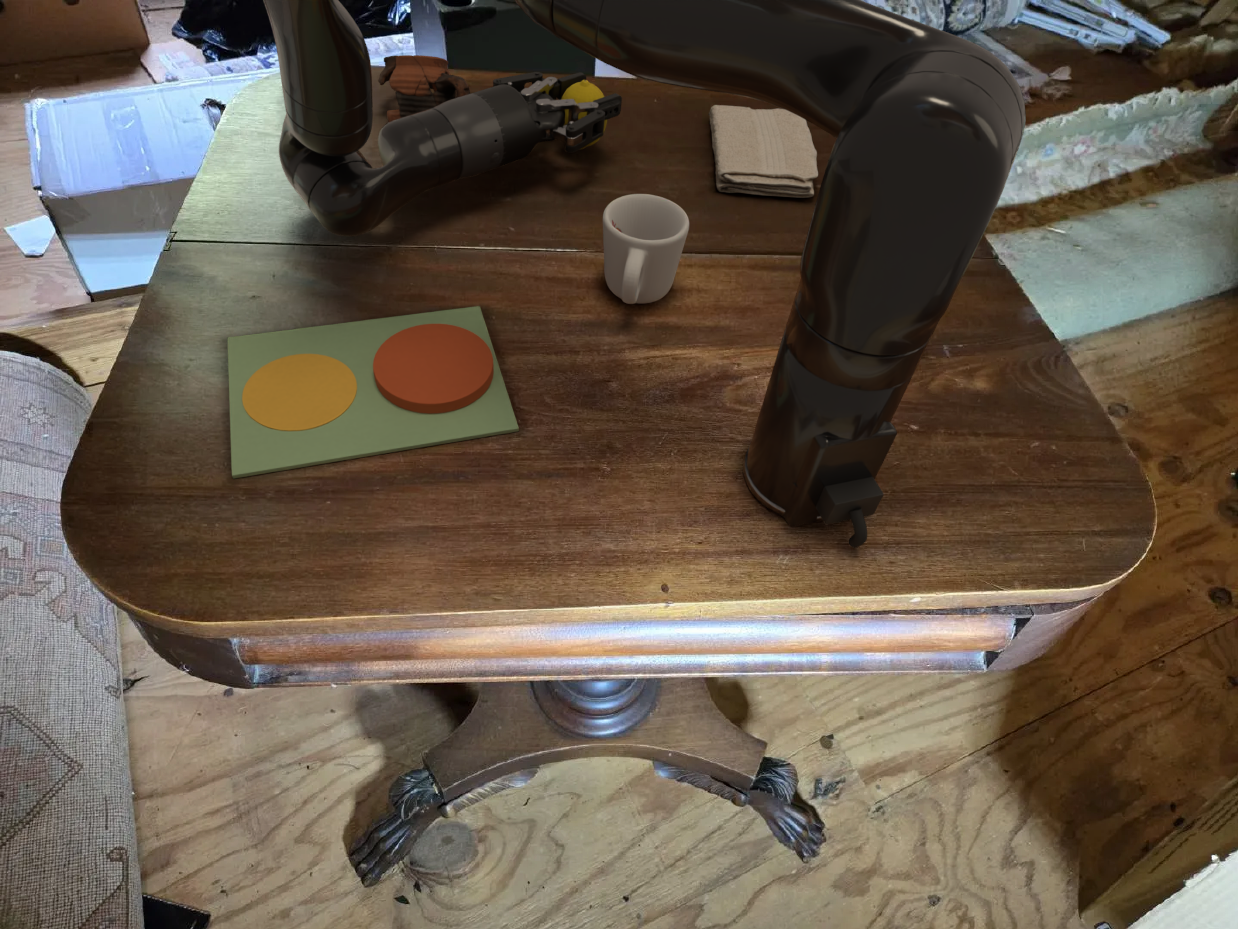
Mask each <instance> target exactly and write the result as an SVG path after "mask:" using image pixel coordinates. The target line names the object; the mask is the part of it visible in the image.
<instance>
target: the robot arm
mask: <svg viewBox="0 0 1238 929" xmlns="http://www.w3.org/2000/svg"><path fill="white" fill-rule="evenodd" d="M262 2H263V4H264V7H265V11H266V14H267V16H268V17H267V18H268V20H269V23H270V24H269V25H270V28H271V30H272V35H273V39H274V43H275V50H276V55H277V60H278V67H279V74H280V80H281V81H280V82H281V88H282V95H283V96H282V97H283V102H284V108H285V116H284V118H283V122H282V128H281V132H280V138H279V142H278V156H279V162H280V165H281V169H282V171H283V173H284V175H285V177H286V179H287V181H288V183H289V184H290V185H291V186H292V189H293V190H294V191H295V192H296V194H297V195H298V196H299V197H300V198H301V200H302V201H303V202H304V203H305V205H306V207H307V208H308V209H309V210H310V212H311V213H312V214H313V216H314V218H315V219H316V220H317V222H319V224H320V225H321V226H322V227H323V228H324V229H325V230H326V231H328V232H329V233H331V234H333V235H337V236H340V237H357V236H361V235H364V234H367V233H369V232H371V231H372V230H374V229H375V228H377V227H379V225H381V224H382V223H383V222H384V221H385V220H387V219H388V218H390V216H392V215H393V214H394V213H396V212H397V211H399V210H400V209H401V208H402V207H404V206H405V205H407V204H408V203H409V202H411V201H412V200H413V199H415V198H416V197H418V196H419V195H421V194H422V193H424V192H426V191H429V190H432V189H435V188H437V187H440V186H443V185H447V184H449V183H451V182H454V181H458V180H461V179H466V178H472V177H475V176H478V175H481V174H484V173H487V172H489V171H492V170H495V169H498V168H501V167H503V166H504V167H505V166H506V165H509V164H512V163H514V162H517V161H521V160H522V159H525V158H527V157H528V156H529V155H531V153H532V152H533V149H534V148H535V147H536V146H537V145H538V144H539V143H546V142H553V141H556V140H557V141H559V142H561V143H563V144H564V151H565V152H566V153H568V154H573V153H576V152H578V151H579V150H581V148H583V147H585V146H586V145H588V144H590V143H592V142H593V141H595V140H597V139H598V138H600V137H601V138H602V137H604V133H605V131H604V121H605V120H607V121H608V120H610V119H613V118H616V117H618V116H619V115H620V114H621V110H622V103H623V102H622V101H623V97H622V95H620V94H618V93H616V92H614V93H612V94H609V95H605V96H604V97H603V98H600V99H597V100H594V101H593V102H583V103H577V102H576V101H575V100H574V99H564V100H561V99H562V96H563V94H564V93H565V91H566V90H567V89H568V88H569V87H570V86H571V85H573V84H575V83H577V82H581V81H582V80H587V75H586V74H584V73H583V72H581V71H580V72H576V73H573V74H569V75H566V76H562V77H559V78H557V77H555V76H548V77H546V78H545V77H543V75H544V74H543V73H542V72H540V71H534V72H532V71H531V72H527V73H522V74H516V75H510V76H504V77H498V78H494V79H493V80H492V87H491V86H490V87H487V88H485V89H481V90H478V91H475V92H472V93H471V92H470V94H468V95H464V96H461V97H458V98H455V99H451V100H449V101H446V102H444V103H442V104H440V105H438V106H436V107H434V108H431V109H428V110H425V111H421V112H418V113H415V114H411V115H408V116H405V117H402V118H399V119H396V120H393V121H391V122H389V121H388V122H387V123H386V124H385V125H383V126H382V127H381V128H380V130H379V132H378V136H377V149H378V155H379V159H380V161H381V164H382V165H381V166H379V167H373V166H372V165H371V164H370V162H369V161H368V160H367V158H366V157H365V156H364V155H363V153H362V152H361V151H360V150H361V149H362V148H363V147H364V146H365V145H366V144H367V142H368V141H369V138H370V136H371V132H372V129H373V128H372V127H373V116H374V113H373V112H374V111H373V108H374V107H373V76H372V64H371V63H372V62H371V57H370V53H369V49H368V46H367V43H366V40H365V38H364V35H363V33H362V31H361V30H360V28H359V25H358V24H357V23H356V21H355V20H354V18H353V17H352V16H351V14H350V13H349V12H348V10H347V9H346V8H345V6H344V5H343V4H342V3H341V2H340V1H339V0H262ZM514 2H515V3H516V4H517V6H518V7H519V8H520V9H521V11H522V12H523V13H524V15H526V16H527V18H529V19H530V20H531V21H532V22H533V23H535V24H536V25H537V26H539V27H540V28H542V29H543V30H545V31H547V32H548V33H549V34H551V35H553V36H554V37H556V38H558V39H559V40H561V41H563V42H565V43H567V44H568V45H571V46H572V47H574V48H576V49H578V50H580V51H582V52H583V53H585V54H587V55H589V56H591V57H592V58H594V59H597V60H598V61H600V62H601V63H604V64H606V65H608V66H610V67H612V68H615V69H617V70H619V71H621V72H624V73H626V74H628V75H631V76H634V77H637V78H640V79H644V80H647V81H651V82H655V83H659V84H660V83H661V84H664V85H670V86H675V87H682V88H688V89H695V90H699V91H700V90H701V91H707V92H715V93H722V94H729V95H734V96H740V97H746V98H750V99H754V100H757V101H762V102H765V103H768V104H770V105H773V106H775V107H778V108H780V109H785V110H787V111H789V112H791V113H794V114H796V115H798V116H800V117H801V118H803V119H805V120H806V122H809V123H810V124H812V125H814V126H816V127H818V128H819V129H821V130H822V131H824V132H826V133H828V134H829V135H831V136H832V137H834V138H836V139H835V142H834V144H833V146H832V149H831V152H830V154H829V158H828V160H827V163H826V166H825V170H824V173H823V176H822V180H821V184H820V187H819V191H818V194H817V198H816V201H815V205H814V209H813V211H812V216H811V219H810V224H809V227H808V230H807V235H806V237H805V241H804V245H803V249H802V252H801V256H800V263H799V275H800V276H799V277H800V279H799V283H798V286H797V290H796V292H795V296H794V298H793V302H792V306H791V309H790V312H789V315H788V319H787V322H786V325H785V327H784V331H783V334H782V338H781V341H780V344H779V348H778V351H777V355H776V358H775V361H774V363H773V367H772V370H771V374H770V377H769V381H768V385H767V387H766V391H765V394H764V397H763V400H762V404H761V406H760V409H759V413H758V417H757V420H756V423H755V427H754V430H753V434H752V437H751V441H750V444H749V446H748V448H747V450H746V453H745V456H744V459H743V465H742V470H743V472H742V473H743V478H744V480H745V483H746V485H747V487H748V488H749V490H750V492H751V493H752V495H753V496H754V497H755V498H756V499H757V500H758V501H759V502H760V503H761V504H762V505H764V507H766V508H768V509H769V510H770V511H773V512H774V513H775V514H779V515H780V516H782V517H783V519H784V520H785V521H786V523H787V525H788V526H789V527H792V528H795V527H799V526H803V525H809V524H815V523H817V522H818V523H819V522H823V523H824V525H826V526H827V525H832V524H837V523H842V522H847V521H851V525H852V528H853V535H851V536H850V537H849V538H848V539H847V540H848V541H847V542H848V543H847V544H848V545H849V546H850V548H852V549H858V548H860V547H862V546H863V544H865V543H866V542H867V541H868V527H867V522H866V519H865V517H869V516H873V515H875V513H876V510H878V508H879V505H880V503H881V501H882V499H883V497H884V495H885V493H884V492H883V490H882V489H881V487H880V486H879V484H878V483H877V481H876V478H877V476H878V474H879V472H880V471H881V468H882V465H883V464H884V461H885V459H886V457H887V456H888V453H889V452H890V450H891V448H892V445H893V443H894V442H895V440H896V438H897V435H898V431H897V428H896V426H894V424H893V422H892V420H893V419H894V416H895V414H896V412H897V410H898V407H899V406H900V403H901V401H902V399H903V397H904V395H905V393H906V391H907V389H908V387H909V385H910V382H911V380H912V378H913V376H914V374H915V372H916V370H917V368H918V366H919V364H920V362H921V359H922V357H923V355H924V354H925V352H926V349H927V347H928V346H929V344H930V341H931V339H932V336H933V334H934V333H935V330H936V329H937V327H938V324H939V323H940V321H941V319H942V318H943V317H944V315H945V313H946V312H947V310H948V308H949V306H950V303H951V302H952V299H953V298H954V295H955V293H956V291H957V289H958V288H959V285H960V283H961V281H962V279H963V276H964V275H965V272H966V271H967V268H968V267H969V265H970V262H971V260H972V258H973V256H974V254H975V252H976V250H977V248H978V246H979V244H980V242H981V240H982V238H983V236H984V234H985V232H986V230H987V228H988V226H989V223H990V221H991V220H992V218H993V215H994V212H995V210H996V207H997V206H998V203H999V201H1000V199H1001V197H1002V194H1003V191H1004V189H1005V186H1006V183H1007V180H1008V178H1009V176H1010V173H1011V171H1012V168H1013V164H1014V162H1015V160H1016V157H1017V155H1018V152H1019V149H1020V146H1021V142H1022V139H1023V136H1024V133H1025V127H1026V119H1027V118H1026V114H1027V113H1026V104H1025V98H1024V95H1023V91H1022V89H1021V87H1020V84H1019V82H1018V80H1017V78H1016V77H1015V76H1014V74H1013V73H1012V72H1011V70H1010V69H1009V67H1008V66H1007V65H1006V64H1005V63H1004V62H1003V60H1001V59H1000V58H998V57H997V56H996V55H995V54H993V53H992V52H991V51H989V50H988V49H986V48H984V47H982V46H980V45H978V44H977V43H974V42H972V41H970V40H967V39H965V38H963V37H960V36H958V35H955V34H952V33H950V32H946V31H944V30H942V29H939V28H936V27H934V26H931V25H928V24H925V23H923V22H919V21H917V20H915V19H911V18H908V17H906V16H904V15H901V14H898V13H895V12H893V11H890V10H887V9H885V8H882V7H880V6H877V5H874V4H872V3H869V2H866V1H864V0H514ZM529 83H531V85H530V86H529V87H526V86H525V85H526V84H529ZM566 109H569V113H568V123H567V124H566V125H564V124H565V110H566ZM581 112H587V115H586V116H585V117H583V118H581V119H579V120H578V115H579V113H581ZM601 138H600V139H601ZM585 148H586V147H585Z"/></svg>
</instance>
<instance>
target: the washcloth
mask: <svg viewBox="0 0 1238 929" xmlns="http://www.w3.org/2000/svg"><path fill="white" fill-rule="evenodd" d="M708 117H709V123H708V125H710V131H711V142H712V146H711V147H712V150H713V154H714V155H713V156H714V162H715V172H714V174H715V182H716V183H715V186H716V189H717V191H718V192H720V193H726V194H735V193H737V194H738V193H739V194H747V195H755V196H766V197H767V196H768V197H781V198H782V197H783V198H800V199H805V198H812V197H814V196H815V190H814V180H815V179H816V178H818V177H819V171H818V166H817V165H818V162H817V156H818V151H817V149H816V148H815V145H814V143H813V138H812V133H811V131H810V128H809V127H808V126H809V125H808V123H807V122H808V121H807V120H805V119H803V118H801V117H800V116H798V115H796V114H794V113H791V112H789V111H787V110H785V109H783V108H780V107H778V108H771V109H770V108H769V109H768V108H767V109H764V108H761V109H760V108H759V109H758V108H757V109H754V108H751V107H750V106H748V107H747V106H739V105H737V106H735V105H724V104H721V105H720V104H714V105H713V106H711V107H710V110H709V112H708Z"/></svg>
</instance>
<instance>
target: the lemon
mask: <svg viewBox="0 0 1238 929" xmlns="http://www.w3.org/2000/svg"><path fill="white" fill-rule="evenodd" d="M603 97H605V94H604V93H603V92H602V91H601V89H600V88H599V87H598V86H596V85H595V83H592V82H589V81H588V80H587V79H586V80H582V81H581V82H577V83H575V84H573V85H571V86H570V87H569V88H568V89H567V90H566V91H565V93H564V94H563V96H562V99H561V100H564V99H574V100H575V101H576V102H577V103H583V102H593V101H594V100H597V99H600V98H603ZM568 113H569V109H566V110H565V124H564V125H566V124H567V123H568ZM586 115H587V112H581V113H579V115H578V120H579V119H581V118H583V117H585V116H586ZM607 124H608V119H607V120H605V121H604V132H605V131H606V128H607ZM601 138H602V137H600V138H598V139H597V140H595V141H593V142H592V143H590V144H588V145H586V146H585V147H583V148H581V149H580V151H581V150H584V149H586V148H587V147H591V146H593V145H595V144H596V143H598V142H599V141H600V139H601Z"/></svg>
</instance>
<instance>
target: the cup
mask: <svg viewBox="0 0 1238 929" xmlns="http://www.w3.org/2000/svg"><path fill="white" fill-rule="evenodd" d="M689 230H690V219H689V216H688V215H687V213H686V211H685V209H683V208H682V207H681V206H680V205H679V204H677V203H676V202H674V201H672V200H670V199H668V198H666V197H662V196H658V195H656V194H655V195H654V194H647V193H632V194H626V195H622V196H619V197H617V198H616V199H613V200H612V201H611V202H609V203H608V204H607V205H606V207H605V208H604V211H603V214H602V240H603V243H602V244H603V272H604V279H605V283H606V285H607V287H608V289H609V290H610V291H611V293H612V294H614V295H615V297H618V298H619V299H621V301H622V302H623V303H626V304H628V305H635V304H651V303H654V302H657V301H659V300H661V299H662V298H664V297H665V296H666V295H667V294H668V293H669V291H670V290H671V288H672V286H673V283H674V280H675V279H676V274H677V271H678V268H679V264H680V261H681V257H682V254H683V250H684V247H685V243H686V240H687V236H688V235H689Z"/></svg>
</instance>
